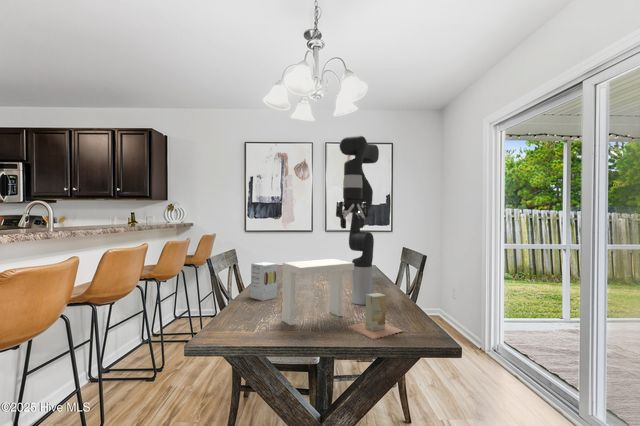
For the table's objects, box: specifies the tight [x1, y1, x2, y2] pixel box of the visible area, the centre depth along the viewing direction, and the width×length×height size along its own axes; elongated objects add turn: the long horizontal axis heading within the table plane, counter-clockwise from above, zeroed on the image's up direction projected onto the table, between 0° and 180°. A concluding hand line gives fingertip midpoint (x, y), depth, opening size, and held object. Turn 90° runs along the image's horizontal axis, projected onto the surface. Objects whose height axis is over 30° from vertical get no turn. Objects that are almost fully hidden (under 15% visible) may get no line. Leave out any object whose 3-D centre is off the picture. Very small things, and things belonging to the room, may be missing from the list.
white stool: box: [281, 258, 354, 326], centre depth 135 cm, size 24×14×22 cm, turn 123°
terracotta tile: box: [347, 321, 404, 340], centre depth 125 cm, size 14×14×1 cm
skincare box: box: [364, 292, 387, 331], centre depth 125 cm, size 6×4×12 cm
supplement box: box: [250, 261, 278, 302], centre depth 170 cm, size 10×9×17 cm
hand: (352, 228), depth 137 cm, fingers open, 8 cm apart
